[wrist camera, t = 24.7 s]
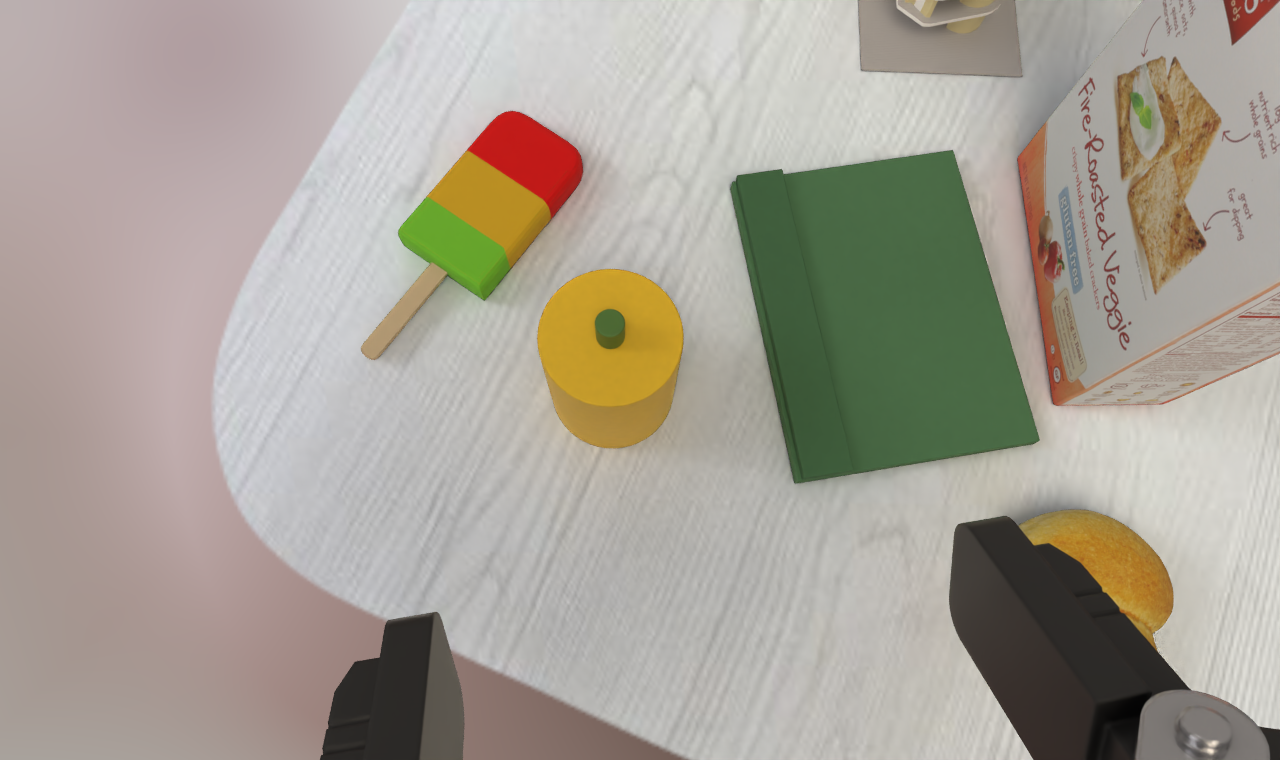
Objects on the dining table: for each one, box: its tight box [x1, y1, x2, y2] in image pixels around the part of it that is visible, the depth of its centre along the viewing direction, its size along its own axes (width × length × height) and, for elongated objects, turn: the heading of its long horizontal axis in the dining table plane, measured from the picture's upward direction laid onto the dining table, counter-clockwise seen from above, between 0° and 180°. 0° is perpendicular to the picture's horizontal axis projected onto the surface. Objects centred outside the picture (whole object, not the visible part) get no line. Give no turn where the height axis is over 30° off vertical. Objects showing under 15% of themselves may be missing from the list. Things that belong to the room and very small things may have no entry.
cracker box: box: [1017, 0, 1280, 406], centre depth 37 cm, size 14×6×21 cm, turn 1°
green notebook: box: [730, 150, 1040, 484], centre depth 45 cm, size 12×16×1 cm
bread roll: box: [1019, 510, 1173, 652], centre depth 40 cm, size 8×9×4 cm
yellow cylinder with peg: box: [537, 269, 683, 448], centre depth 40 cm, size 6×6×10 cm
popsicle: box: [361, 111, 583, 360], centre depth 46 cm, size 6×15×2 cm, turn 145°
